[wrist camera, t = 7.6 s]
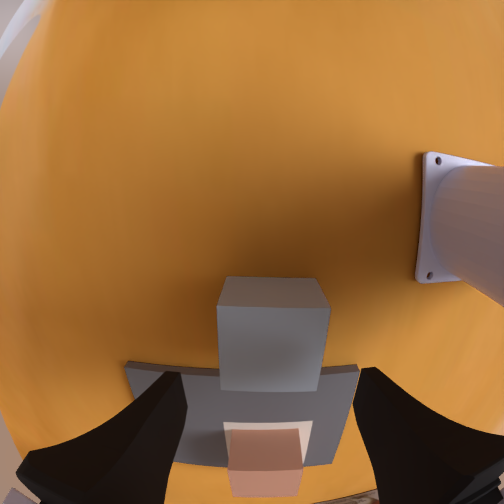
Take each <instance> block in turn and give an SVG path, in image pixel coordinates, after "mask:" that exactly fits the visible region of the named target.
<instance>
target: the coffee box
mask: <svg viewBox="0 0 504 504" xmlns="http://www.w3.org/2000/svg"><path fill="white" fill-rule="evenodd" d="M314 504H379V497H378V491H377V489H376V490H372V491H369V492H365V493H361V494H357V495H353V496H349V497H345V498H340V499H336V500H331V501H325V502H320V503H314Z"/></svg>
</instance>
